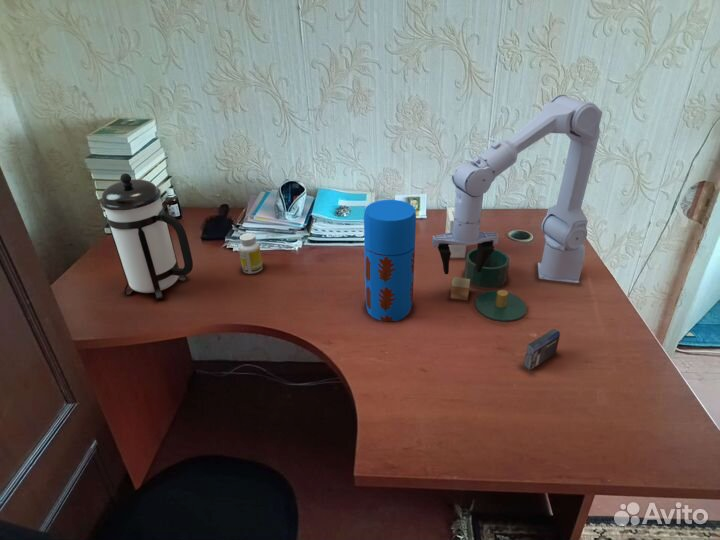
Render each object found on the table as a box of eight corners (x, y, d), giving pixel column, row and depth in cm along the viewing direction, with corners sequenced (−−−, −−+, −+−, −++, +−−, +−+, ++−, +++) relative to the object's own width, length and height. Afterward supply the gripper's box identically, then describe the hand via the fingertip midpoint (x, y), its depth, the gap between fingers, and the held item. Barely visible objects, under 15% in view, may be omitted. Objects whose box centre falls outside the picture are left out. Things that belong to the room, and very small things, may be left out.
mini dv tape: (529, 372, 96) (534, 348, 93) (523, 368, 97) (527, 344, 94) (555, 355, 100) (560, 331, 97) (548, 351, 101) (554, 328, 98)
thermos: (409, 324, 110) (412, 223, 97) (361, 319, 112) (359, 219, 99) (414, 297, 119) (418, 200, 106) (370, 292, 121) (369, 197, 108)
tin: (506, 270, 128) (509, 250, 125) (505, 292, 120) (509, 271, 117) (465, 265, 131) (467, 245, 128) (462, 286, 122) (464, 266, 119)
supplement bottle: (265, 264, 134) (260, 231, 129) (259, 274, 129) (254, 241, 124) (245, 263, 134) (240, 231, 129) (239, 274, 130) (233, 241, 125)
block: (468, 292, 120) (470, 278, 118) (467, 302, 117) (468, 287, 115) (452, 290, 121) (453, 276, 119) (450, 299, 118) (451, 285, 115)
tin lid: (525, 298, 117) (528, 282, 115) (526, 327, 108) (529, 310, 106) (476, 292, 120) (478, 276, 118) (473, 320, 111) (475, 303, 108)
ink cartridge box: (443, 244, 141) (447, 196, 133) (461, 244, 141) (465, 196, 133) (447, 259, 134) (450, 209, 126) (465, 259, 133) (470, 209, 126)
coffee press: (125, 311, 116) (85, 192, 101) (125, 278, 129) (89, 168, 113) (200, 294, 122) (173, 179, 106) (193, 264, 134) (168, 157, 119)
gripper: (494, 208, 112) (487, 260, 119) (430, 212, 111) (427, 264, 118) (504, 222, 106) (496, 276, 113) (437, 226, 105) (433, 279, 112)
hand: (462, 271), depth 115 cm, fingers open, 7 cm apart
